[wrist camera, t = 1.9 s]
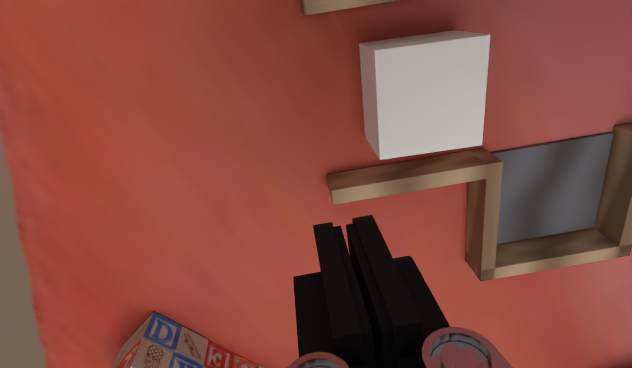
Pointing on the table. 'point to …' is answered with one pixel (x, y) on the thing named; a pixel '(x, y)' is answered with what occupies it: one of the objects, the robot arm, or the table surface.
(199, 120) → the table surface
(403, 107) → the cream block
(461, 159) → the low wooden maze walls
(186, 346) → the stack of blocks
